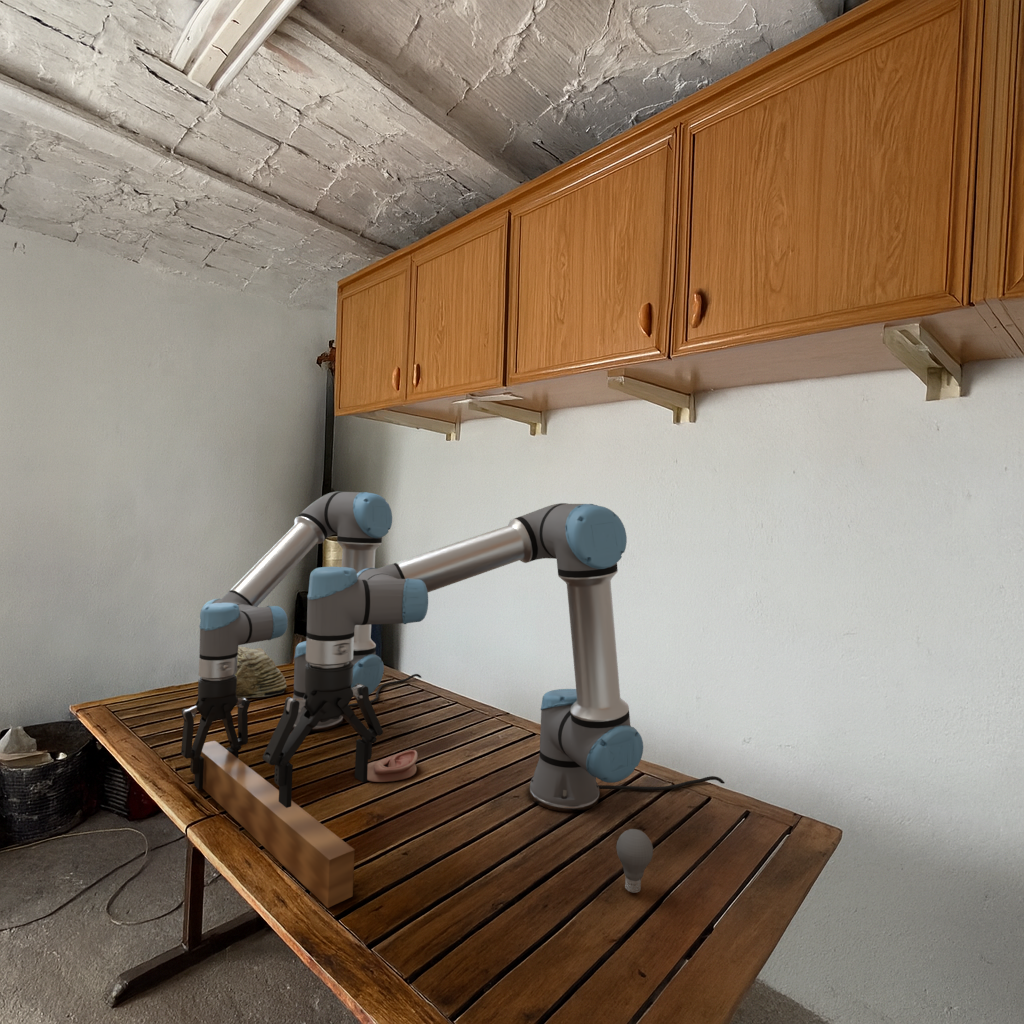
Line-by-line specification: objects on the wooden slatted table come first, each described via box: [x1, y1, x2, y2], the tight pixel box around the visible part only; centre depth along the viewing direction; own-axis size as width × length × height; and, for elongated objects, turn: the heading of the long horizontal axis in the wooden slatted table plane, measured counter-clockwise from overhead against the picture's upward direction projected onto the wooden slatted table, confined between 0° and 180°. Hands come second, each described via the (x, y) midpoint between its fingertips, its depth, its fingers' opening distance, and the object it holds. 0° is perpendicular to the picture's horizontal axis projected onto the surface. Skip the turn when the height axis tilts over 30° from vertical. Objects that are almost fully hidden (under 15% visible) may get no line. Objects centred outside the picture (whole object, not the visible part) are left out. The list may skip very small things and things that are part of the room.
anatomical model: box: [367, 749, 419, 783], centre depth 147 cm, size 13×4×12 cm
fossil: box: [235, 646, 288, 699], centre depth 198 cm, size 9×18×15 cm, turn 132°
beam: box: [192, 740, 356, 909], centre depth 120 cm, size 59×4×8 cm, turn 45°
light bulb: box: [615, 828, 654, 894], centre depth 106 cm, size 6×6×10 cm
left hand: (214, 782), depth 136 cm, fingers open, 6 cm apart
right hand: (324, 791), depth 104 cm, fingers open, 13 cm apart
